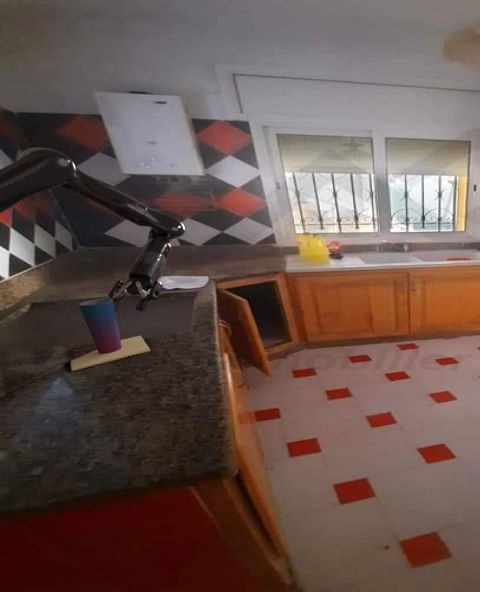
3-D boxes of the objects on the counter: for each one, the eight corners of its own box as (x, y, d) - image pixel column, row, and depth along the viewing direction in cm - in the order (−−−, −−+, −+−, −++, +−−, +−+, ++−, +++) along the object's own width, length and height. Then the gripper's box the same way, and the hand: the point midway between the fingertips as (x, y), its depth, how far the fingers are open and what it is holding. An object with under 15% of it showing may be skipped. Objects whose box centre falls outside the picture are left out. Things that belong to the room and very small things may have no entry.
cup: (91, 357, 89) (75, 306, 85) (97, 349, 94) (82, 301, 90) (124, 351, 93) (110, 302, 89) (127, 343, 98) (114, 297, 94)
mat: (71, 371, 83) (71, 369, 82) (70, 353, 93) (69, 351, 93) (150, 350, 94) (150, 349, 94) (141, 337, 104) (140, 335, 104)
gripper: (118, 261, 103) (92, 305, 95) (160, 261, 102) (138, 305, 95) (137, 273, 109) (114, 315, 101) (177, 273, 109) (157, 315, 101)
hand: (125, 310), depth 98 cm, fingers open, 8 cm apart
